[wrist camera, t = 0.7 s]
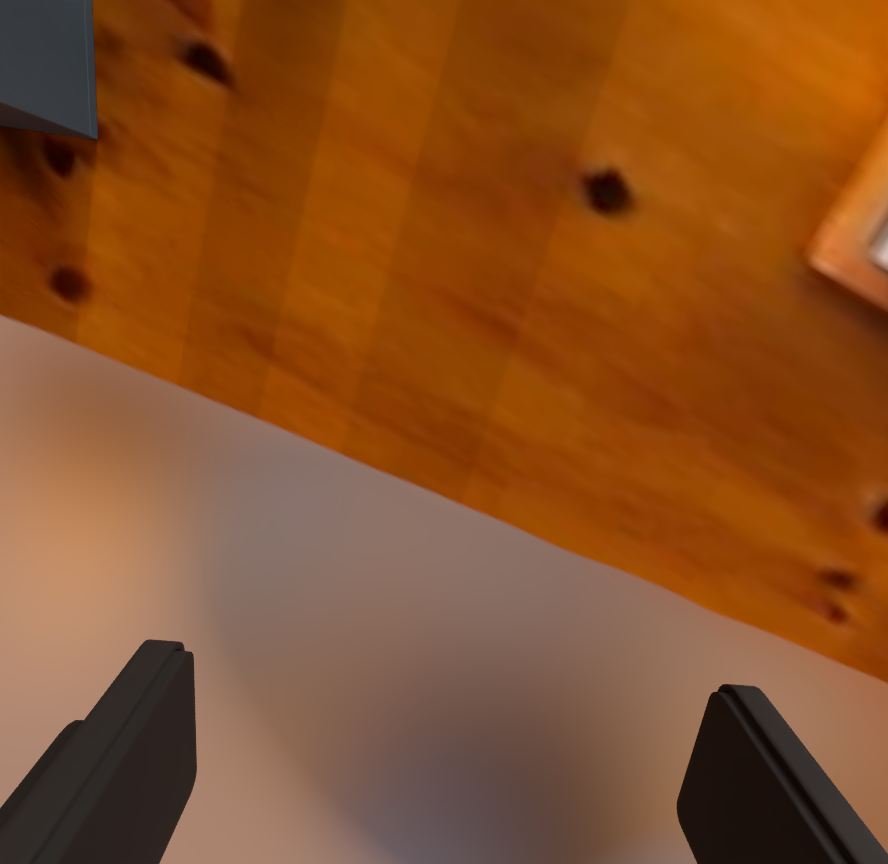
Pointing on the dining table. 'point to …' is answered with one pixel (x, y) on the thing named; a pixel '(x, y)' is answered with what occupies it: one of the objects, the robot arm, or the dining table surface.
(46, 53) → the chest
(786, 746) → the robot arm
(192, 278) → the dining table surface
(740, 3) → the dining table surface
